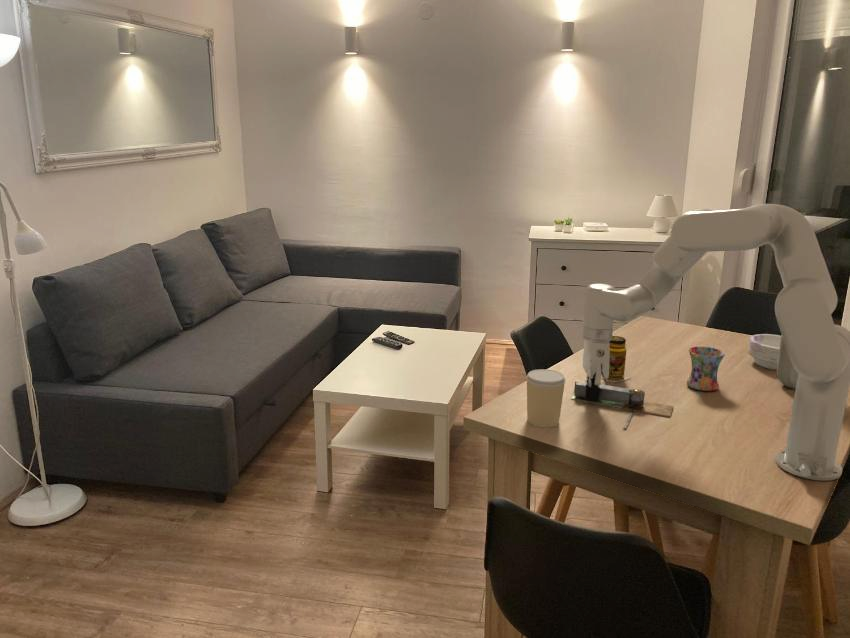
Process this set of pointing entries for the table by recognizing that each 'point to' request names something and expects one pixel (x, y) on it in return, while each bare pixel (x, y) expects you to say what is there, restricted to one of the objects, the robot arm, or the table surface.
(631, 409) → the plate
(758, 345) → the paper bowls
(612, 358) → the condiment
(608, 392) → the swing bar
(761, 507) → the table surface
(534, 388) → the coffee cup
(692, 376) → the mug
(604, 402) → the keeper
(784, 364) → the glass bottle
